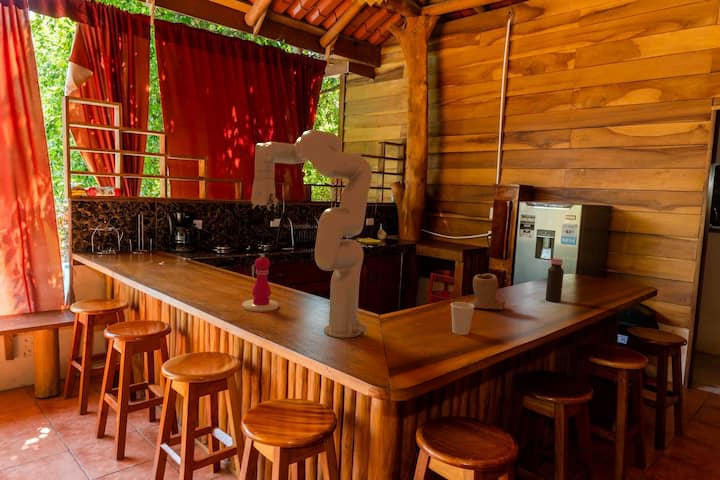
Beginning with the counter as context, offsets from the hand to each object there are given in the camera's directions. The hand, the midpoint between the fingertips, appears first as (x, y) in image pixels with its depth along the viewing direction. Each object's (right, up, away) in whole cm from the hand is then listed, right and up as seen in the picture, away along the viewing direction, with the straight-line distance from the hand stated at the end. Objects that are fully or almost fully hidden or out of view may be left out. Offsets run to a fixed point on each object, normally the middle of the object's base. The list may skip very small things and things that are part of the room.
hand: (263, 220), depth 185 cm
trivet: (-2, -34, +3) cm, 35 cm away
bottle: (+129, -37, +40) cm, 141 cm away
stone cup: (+92, -38, +19) cm, 101 cm away
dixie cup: (+73, -41, -17) cm, 86 cm away
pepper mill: (-1, -33, +3) cm, 33 cm away
